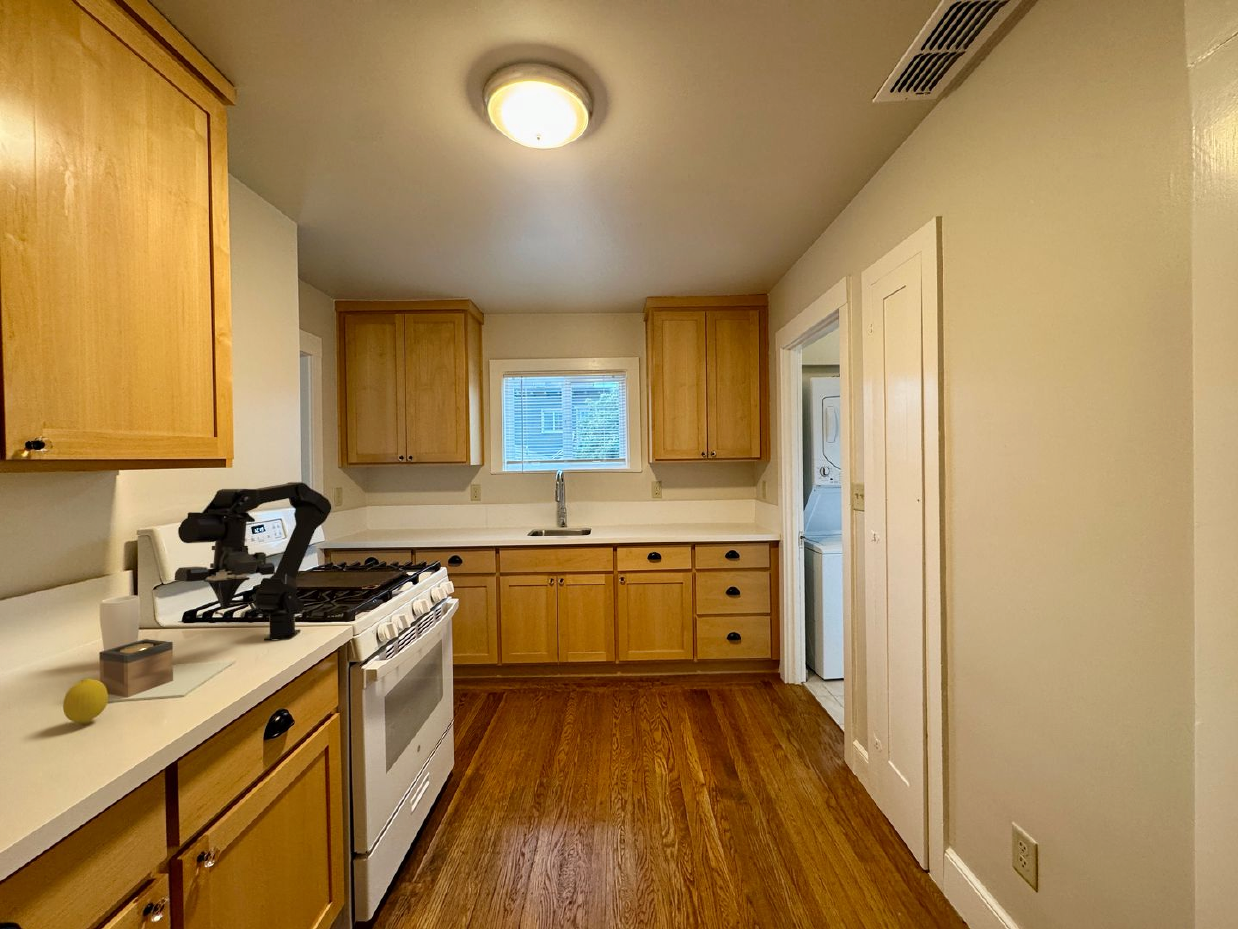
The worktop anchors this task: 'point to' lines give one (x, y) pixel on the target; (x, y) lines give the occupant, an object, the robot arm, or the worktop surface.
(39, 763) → the worktop surface
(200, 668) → the mat
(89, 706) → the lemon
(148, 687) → the wooden box
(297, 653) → the worktop surface
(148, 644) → the peg
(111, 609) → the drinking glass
